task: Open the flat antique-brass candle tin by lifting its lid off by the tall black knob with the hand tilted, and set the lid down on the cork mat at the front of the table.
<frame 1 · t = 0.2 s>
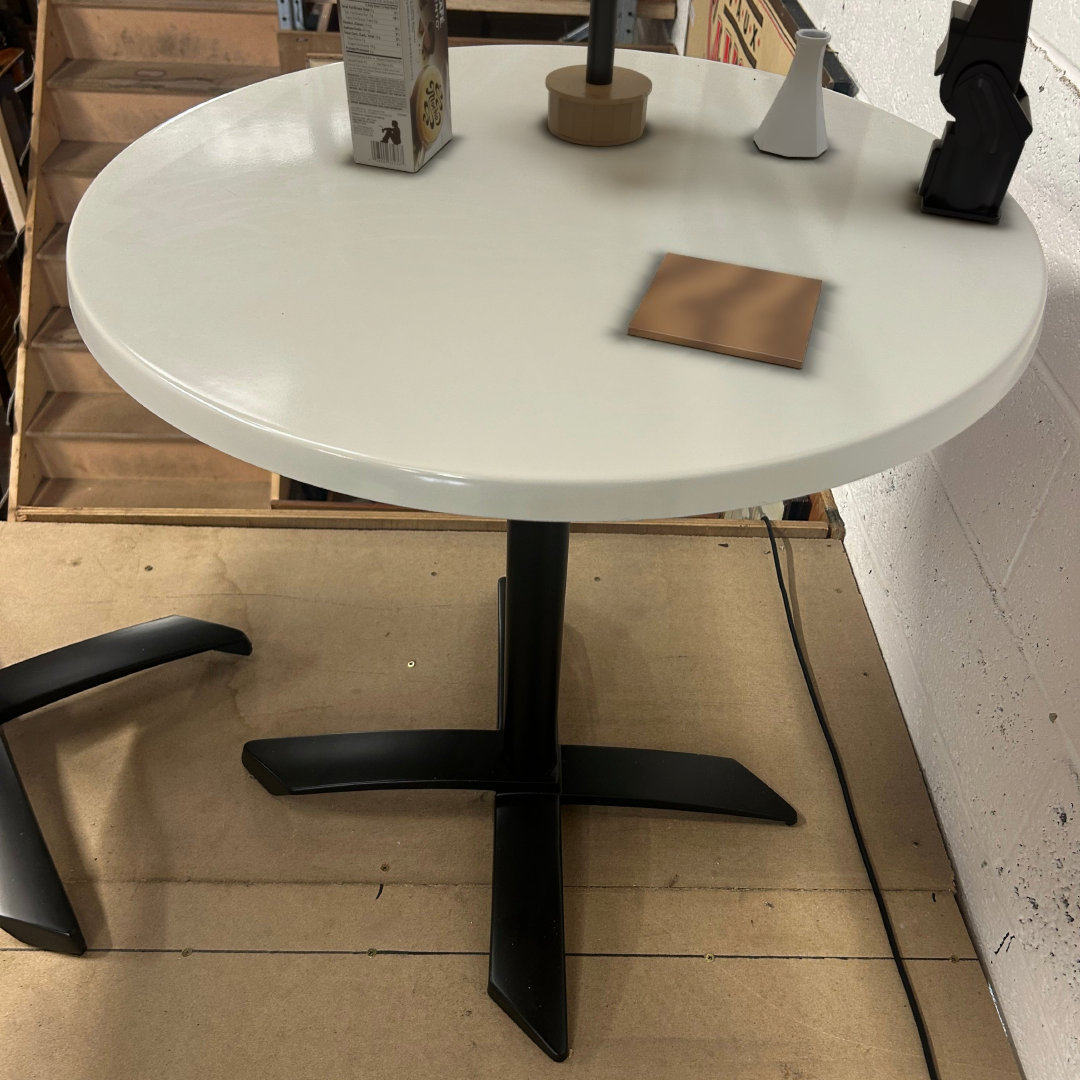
coffee box: (404, 153, 86), on the table
tin lid: (598, 86, 89), point 4 cm above the table, touching tin
flask: (789, 148, 90), on the table
cork mat: (728, 309, 66), on the table
tin: (595, 127, 92), on the table
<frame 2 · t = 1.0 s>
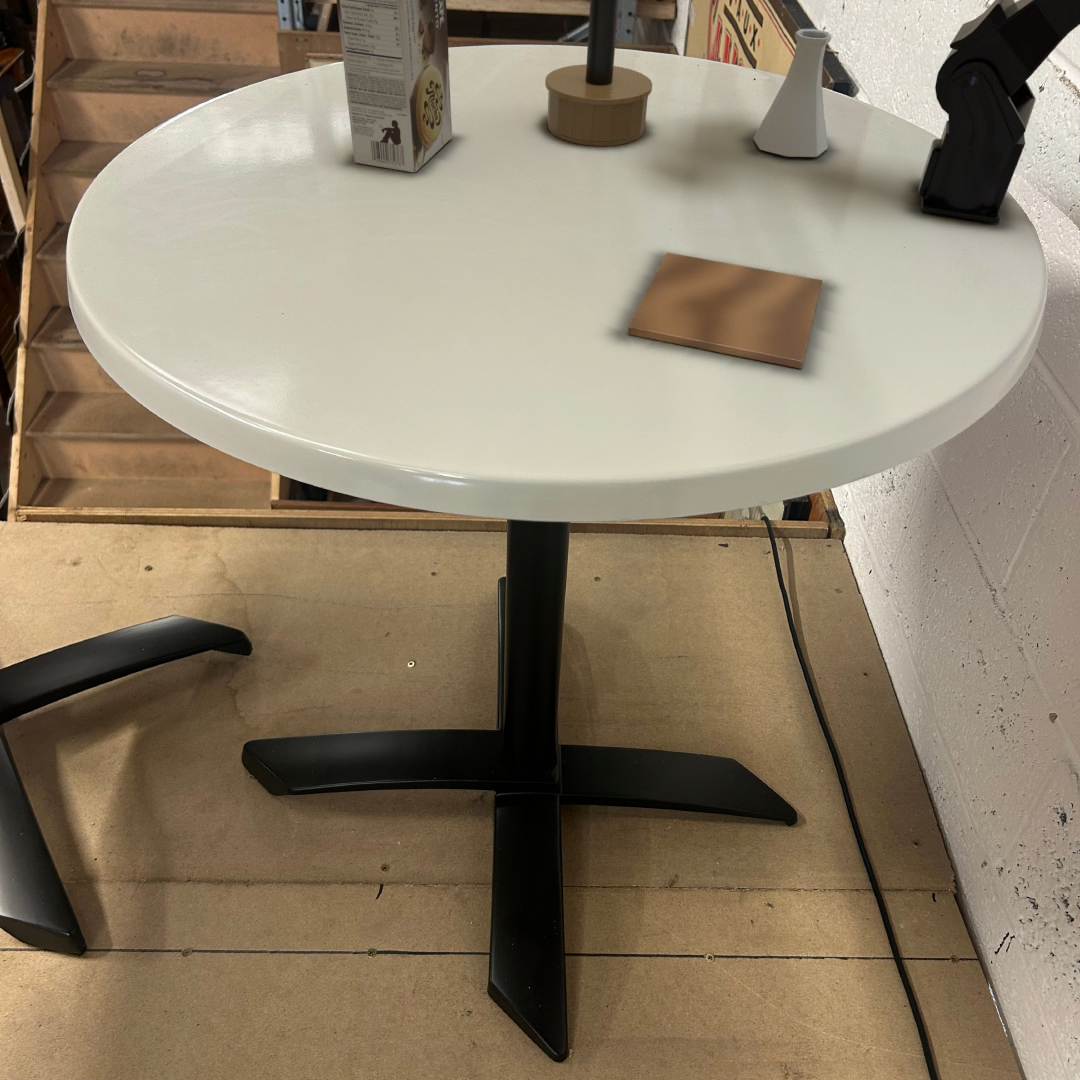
nothing on the table moved.
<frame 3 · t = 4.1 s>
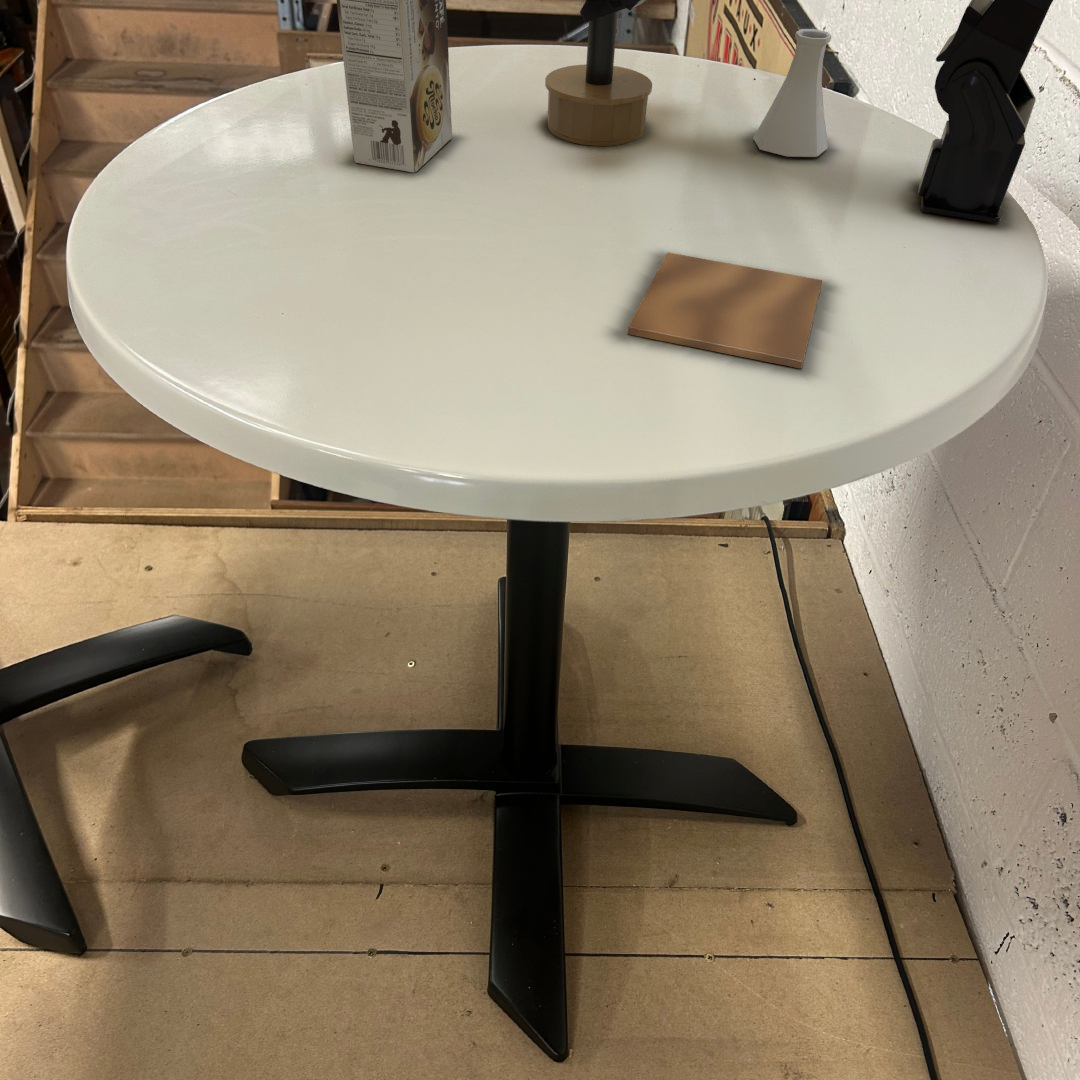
hand: (589, 13, 85), 10 cm above the table, tool tilted 45°, fingers closed on tin lid, 2 cm apart
tin lid: (598, 86, 89), point 4 cm above the table, touching gripper, tin
everything else where it was.
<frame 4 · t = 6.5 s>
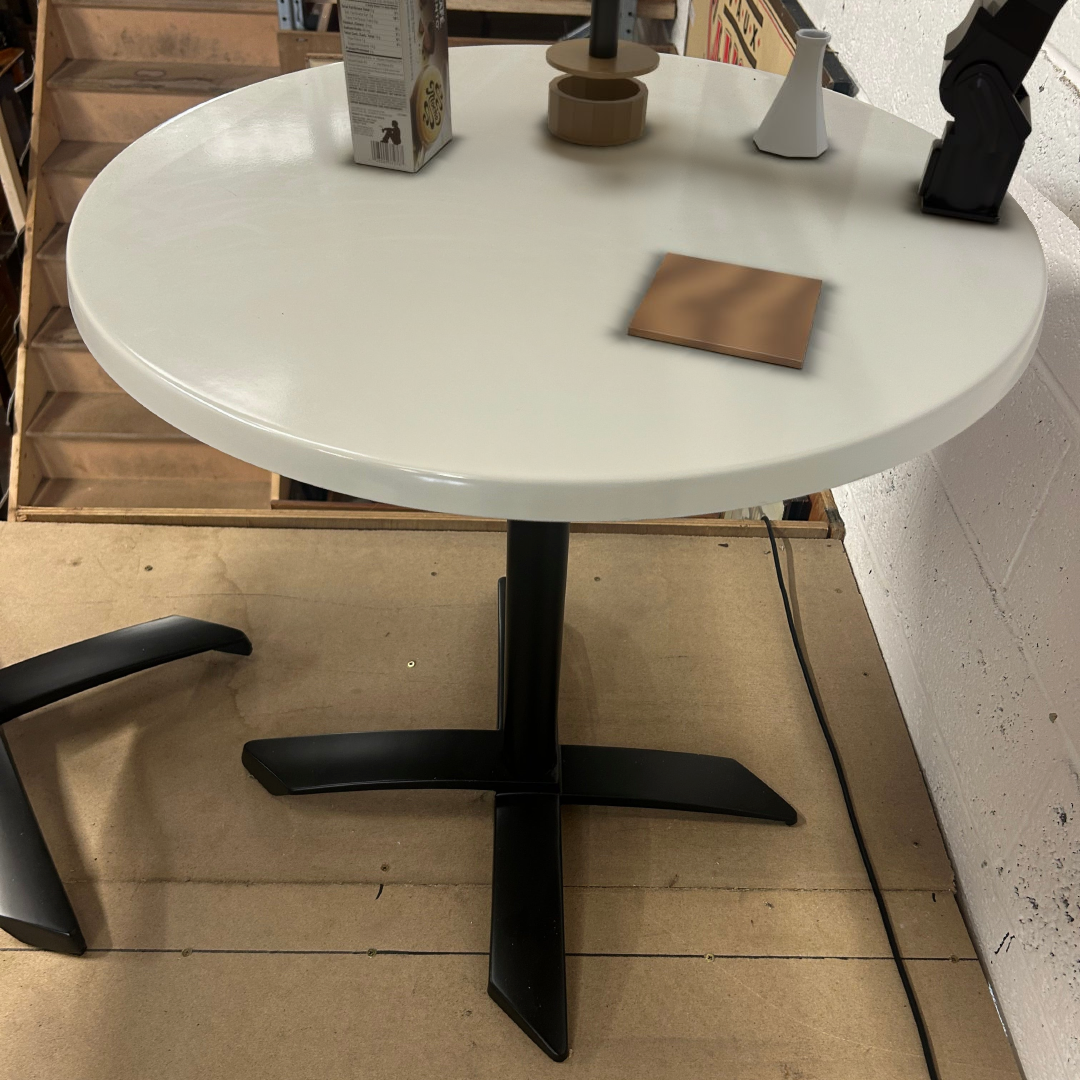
tin lid: (602, 60, 83), point 7 cm above the table, touching gripper
everything else where it was.
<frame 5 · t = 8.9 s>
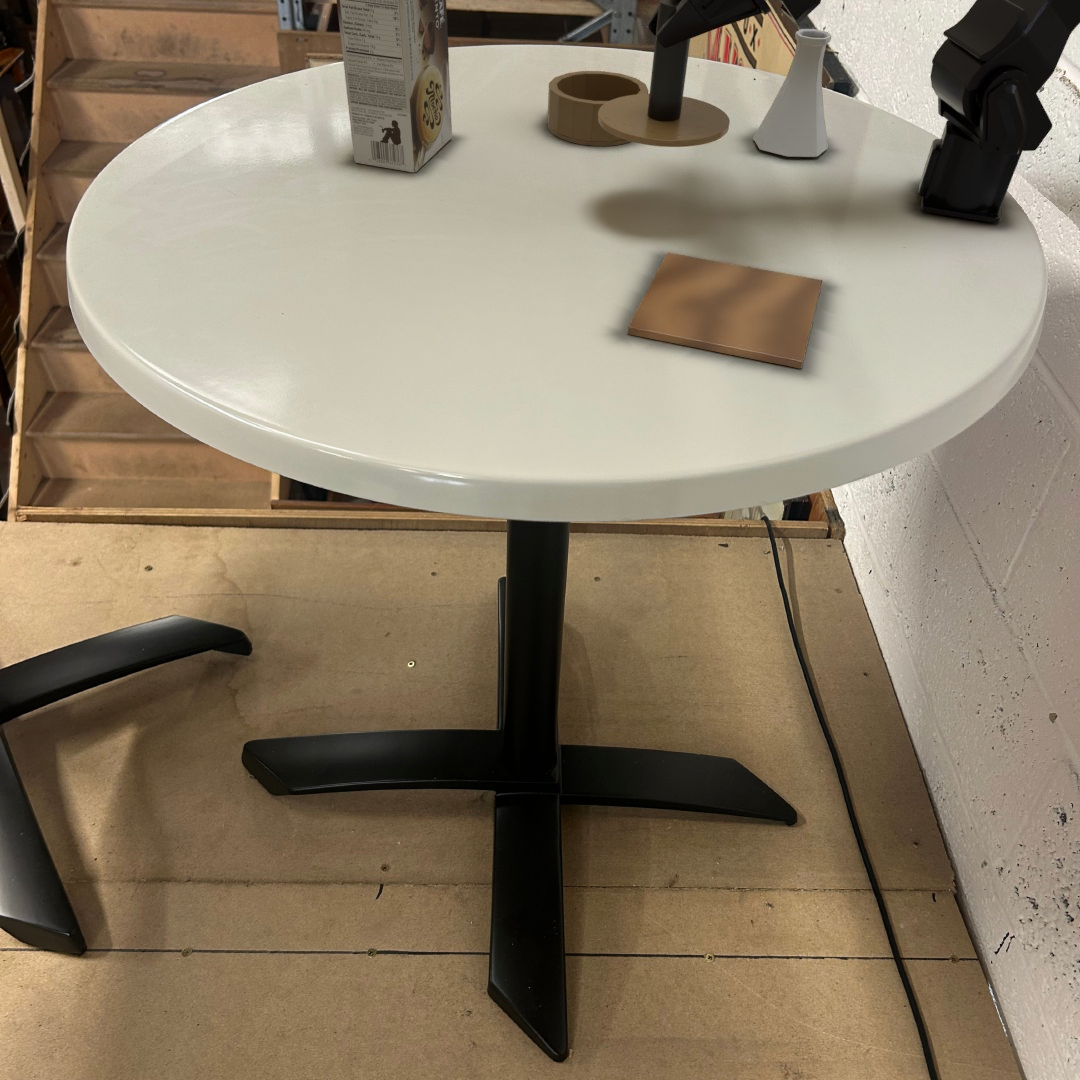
hand: (655, 37, 68), 14 cm above the table, tool tilted 45°, fingers closed on tin lid, 2 cm apart
tin lid: (663, 122, 73), point 7 cm above the table, touching gripper
everything else where it was.
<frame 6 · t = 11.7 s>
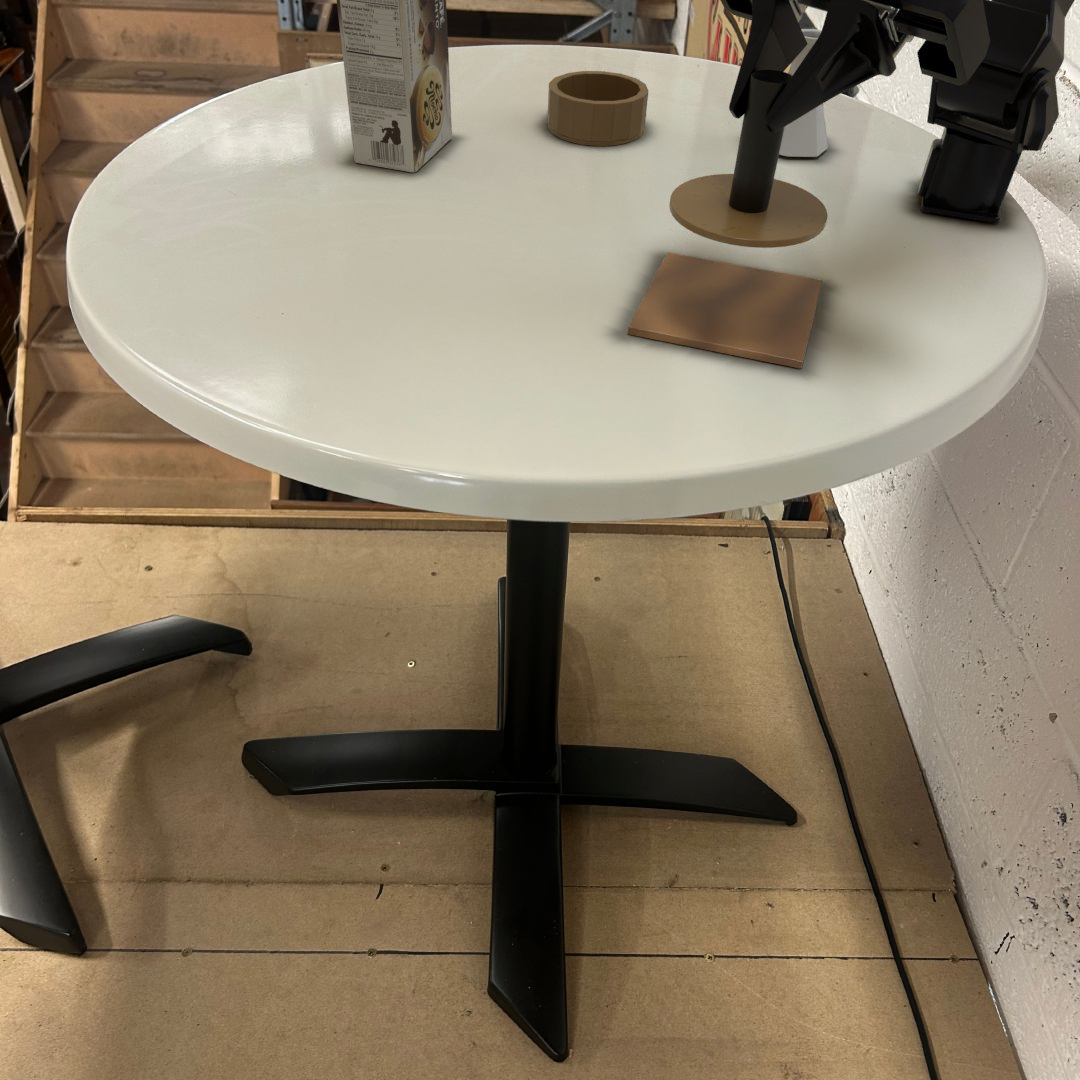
hand: (750, 120, 56), 13 cm above the table, tool tilted 45°, fingers closed on tin lid, 2 cm apart
tin lid: (746, 212, 61), point 7 cm above the table, touching gripper
everything else where it was.
when the fingers open (7 cm above the table, at t = 13.7 s): tin lid stays where it is, resting on cork mat.
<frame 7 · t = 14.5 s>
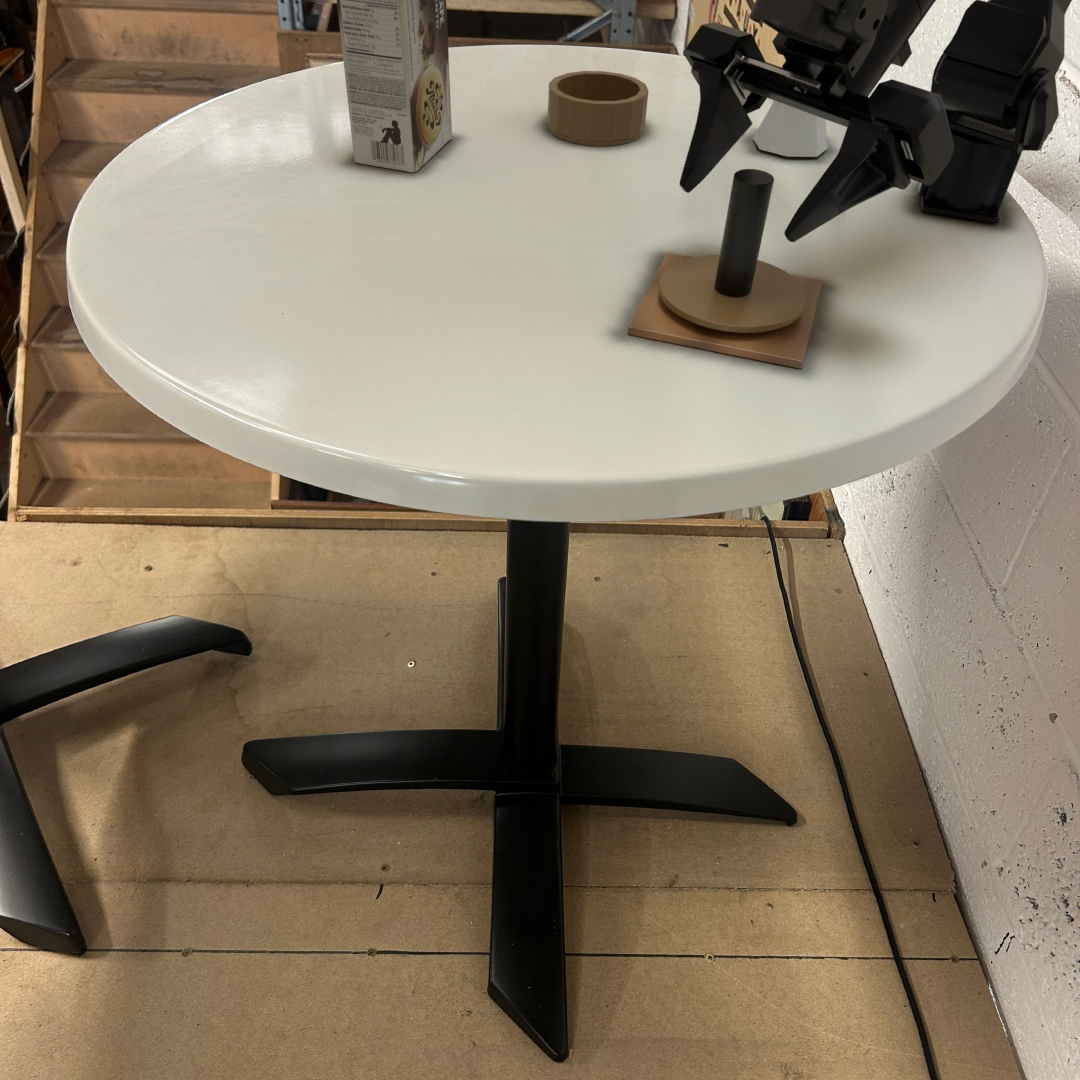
hand: (733, 212, 60), 8 cm above the table, tool tilted 45°, fingers open, 9 cm apart
tin lid: (731, 294, 65), point 1 cm above the table, touching cork mat
everything else where it was.
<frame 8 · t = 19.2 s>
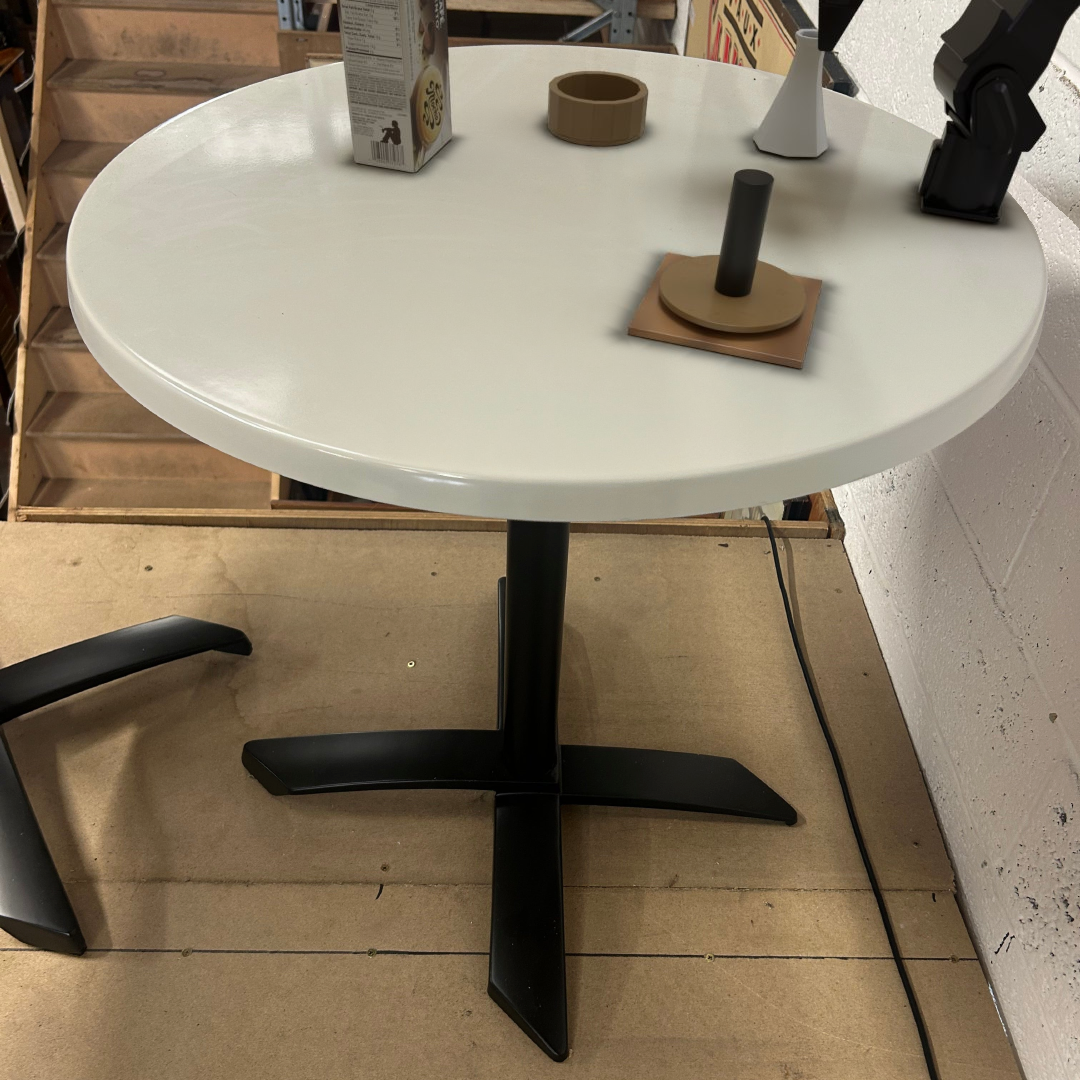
hand: (830, 34, 72), 13 cm above the table, tool pointing down, fingers open, 9 cm apart
nothing on the table moved.
at the end: tin lid inside the target area on the cork mat (0.0 cm from its centre), point 1.2 cm above the cork mat's base; tin lid tilted 0°; tin lid touching cork mat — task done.
